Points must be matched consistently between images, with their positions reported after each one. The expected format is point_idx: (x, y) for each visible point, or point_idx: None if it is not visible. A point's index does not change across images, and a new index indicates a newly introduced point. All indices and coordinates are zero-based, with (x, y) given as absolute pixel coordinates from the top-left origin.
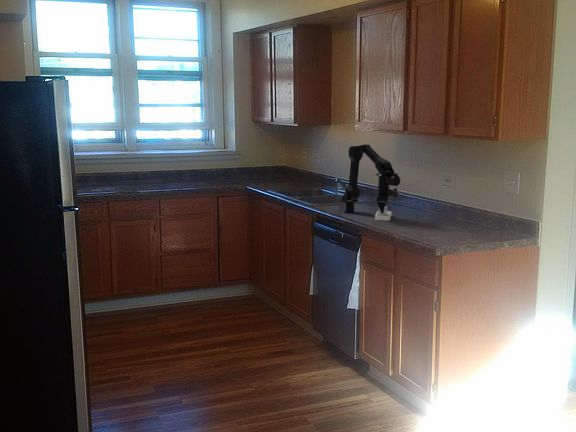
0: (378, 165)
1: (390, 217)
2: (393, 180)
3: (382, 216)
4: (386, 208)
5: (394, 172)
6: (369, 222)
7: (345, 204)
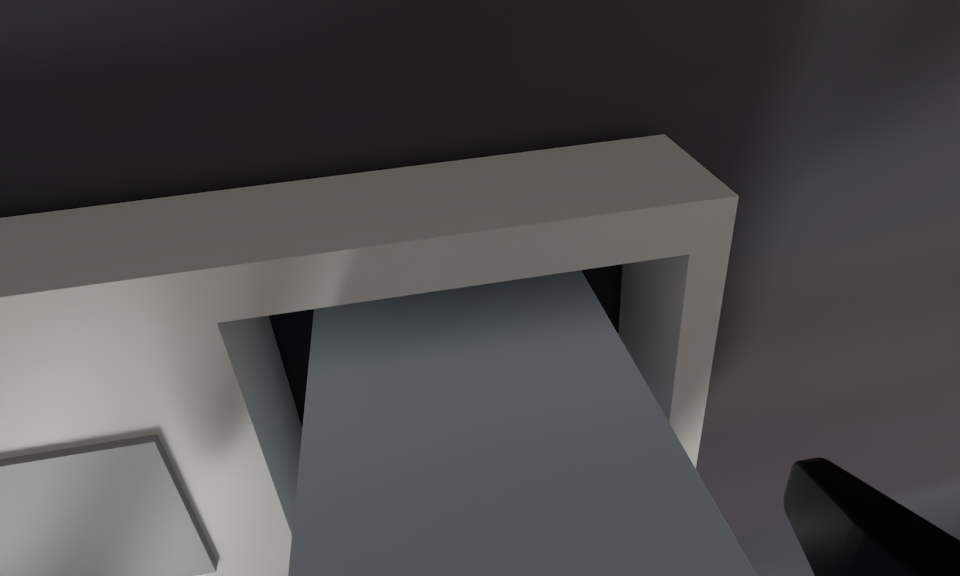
0: None
1: (114, 210)
2: None
3: (692, 399)
4: (747, 569)
5: None
6: (874, 480)
7: None
